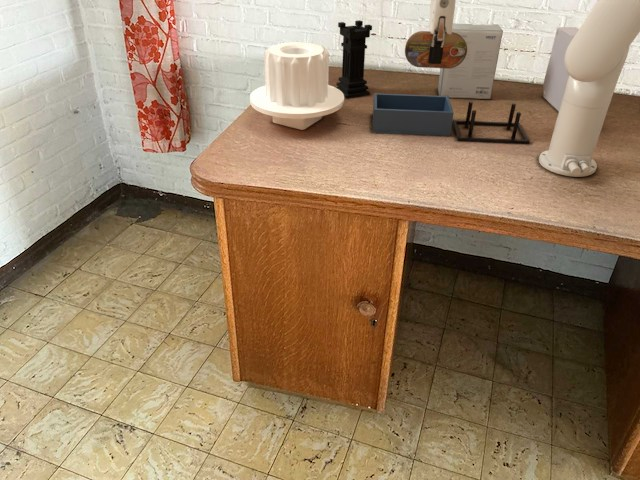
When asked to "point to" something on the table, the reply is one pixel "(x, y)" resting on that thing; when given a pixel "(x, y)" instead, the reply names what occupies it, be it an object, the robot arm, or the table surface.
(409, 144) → the table surface
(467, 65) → the hard drive box
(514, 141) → the rack
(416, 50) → the tin
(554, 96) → the game console
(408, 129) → the open box
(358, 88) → the chess piece
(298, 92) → the flanged gear
